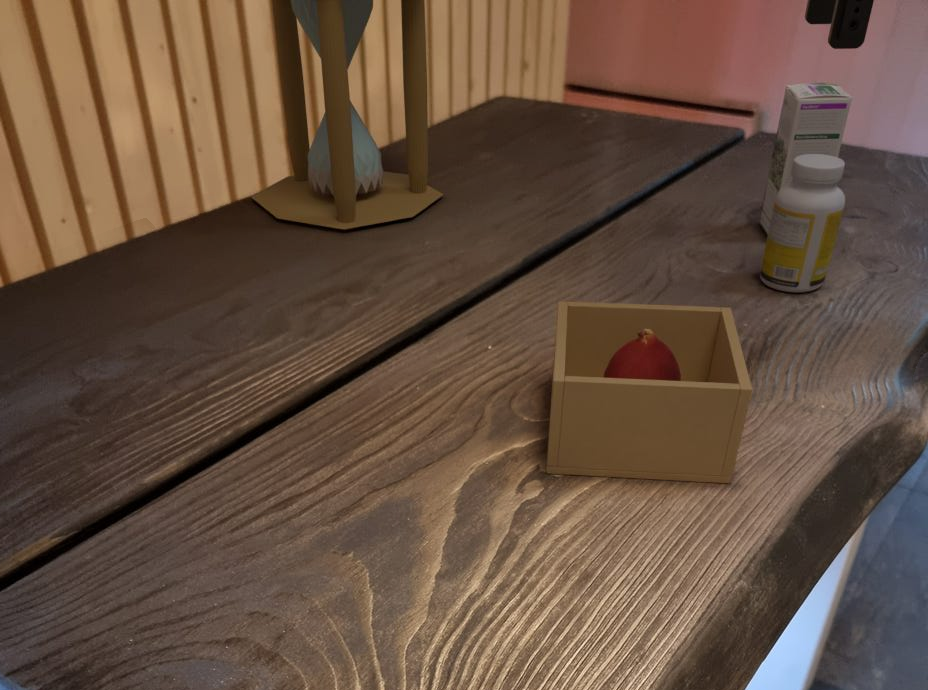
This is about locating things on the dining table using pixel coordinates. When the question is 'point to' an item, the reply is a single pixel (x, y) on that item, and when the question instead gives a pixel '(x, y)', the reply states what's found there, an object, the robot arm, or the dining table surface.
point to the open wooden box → (647, 395)
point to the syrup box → (804, 133)
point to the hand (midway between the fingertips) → (831, 34)
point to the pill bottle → (804, 225)
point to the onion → (644, 360)
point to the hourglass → (347, 122)
